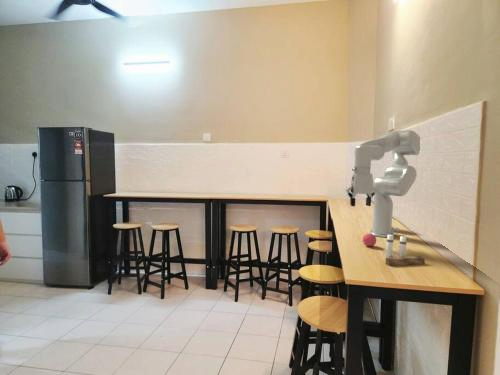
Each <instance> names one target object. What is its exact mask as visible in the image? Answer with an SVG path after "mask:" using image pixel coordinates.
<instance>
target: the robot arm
mask: <svg viewBox="0 0 500 375" xmlns="http://www.w3.org/2000/svg"><path fill="white" fill-rule="evenodd" d="M420 138H421V136H420V135H419V134H418V133H417V132H415V131H414V130H411V129H409V130H408V129H407V130H404V129H403V130H394V131H391V132H390V133H388V134H386V135H384V136H383V137H379V138H376V139H372V140H367V141H365V142H363V143H360V144H359V145H356V146H355V149H354V166H353V168H352V169H351V171H353V173H352V175H351V181H350V185H349V186H348V187H347V188H345V193H346V194H347V195H348V198H350V200H349V204H350V206H351V207H356V196H357V195H362V194H363V195H366V199H365V206H367V207H371V204H372V199H373V213H372V214H373V215H372V229H370V230H369V232H368V234H373V235H374V236H375V237H381V238H387V235H394V236H395V233H394V232H399V231H400V227H393V226H392V225H393V210H394V202H393V200H392V198H391V196H393V197H403V196H406V195H407V194H408V192H409V190H410V189H411V187H412V186H413V184H414V182H416V178H417V168H415V166H411V165H409V162H408V160H407V158H406V157H405V156H419V155H418V154H419V151H420ZM389 152H392V160H391V163H390V164H389V166H388V167H387V168H386V169H385V171H384V174H383V176H379V177H376V178H375V179H374V178H373V174H372V173H371V170H372V169H371V168H372V167H371V166H372V161H380V160H382V159H383V158H384V156H385V154H386V153H389ZM373 197H374V198H373Z"/></svg>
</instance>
